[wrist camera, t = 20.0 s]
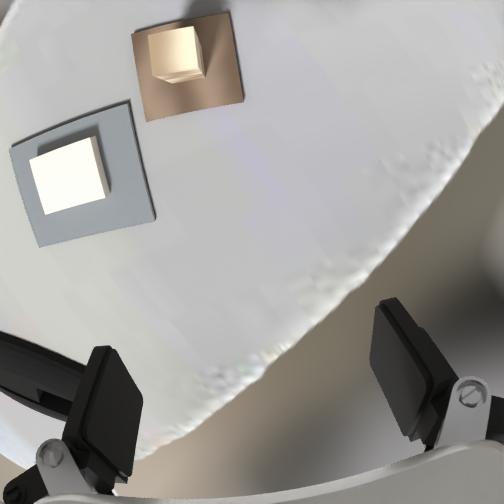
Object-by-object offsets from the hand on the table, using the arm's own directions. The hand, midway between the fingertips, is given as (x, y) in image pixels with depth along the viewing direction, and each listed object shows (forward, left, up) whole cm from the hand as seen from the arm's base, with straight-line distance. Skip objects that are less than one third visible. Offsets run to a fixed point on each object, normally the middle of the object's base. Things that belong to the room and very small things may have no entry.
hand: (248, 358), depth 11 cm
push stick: (+3, -14, -31) cm, 34 cm away
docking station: (+52, +35, -33) cm, 71 cm away
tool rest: (+3, -14, -32) cm, 35 cm away
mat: (+21, -3, -32) cm, 39 cm away
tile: (+21, -4, -30) cm, 37 cm away
